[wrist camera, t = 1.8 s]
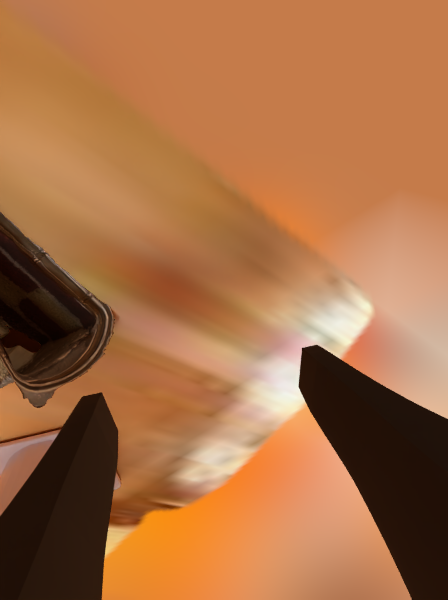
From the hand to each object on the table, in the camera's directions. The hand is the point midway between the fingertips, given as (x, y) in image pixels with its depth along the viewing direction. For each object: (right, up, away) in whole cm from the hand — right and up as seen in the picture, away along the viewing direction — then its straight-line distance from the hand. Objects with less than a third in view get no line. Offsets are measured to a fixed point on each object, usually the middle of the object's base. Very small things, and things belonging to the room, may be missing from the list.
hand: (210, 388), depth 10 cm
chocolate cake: (-13, +4, +6) cm, 15 cm away
